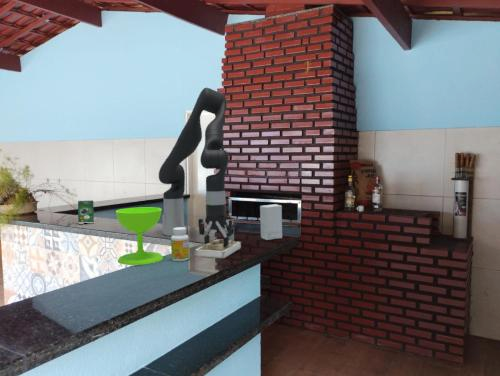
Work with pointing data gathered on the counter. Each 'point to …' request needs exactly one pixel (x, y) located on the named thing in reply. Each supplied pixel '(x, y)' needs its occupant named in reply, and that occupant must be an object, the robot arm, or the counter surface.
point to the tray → (217, 254)
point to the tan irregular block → (217, 245)
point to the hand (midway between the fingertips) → (216, 246)
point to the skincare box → (271, 221)
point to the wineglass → (139, 232)
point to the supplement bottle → (180, 244)
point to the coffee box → (85, 211)
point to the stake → (231, 236)
